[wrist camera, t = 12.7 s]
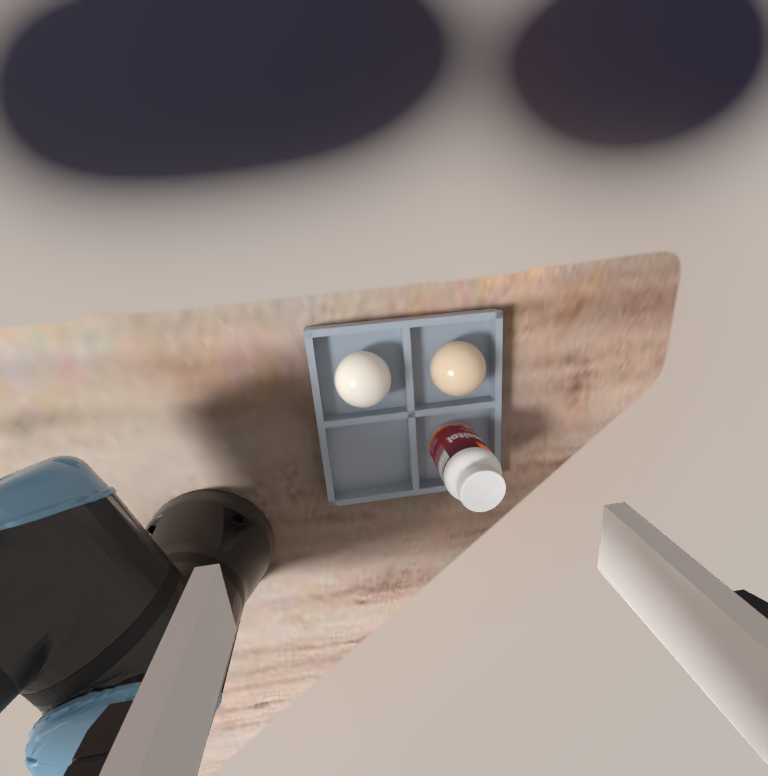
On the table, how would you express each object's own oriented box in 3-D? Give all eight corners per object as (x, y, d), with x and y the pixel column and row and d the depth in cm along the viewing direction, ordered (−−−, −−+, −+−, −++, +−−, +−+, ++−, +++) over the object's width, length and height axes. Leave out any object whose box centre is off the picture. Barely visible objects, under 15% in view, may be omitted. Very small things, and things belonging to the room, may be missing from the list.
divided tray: (329, 495, 49) (329, 507, 47) (305, 326, 42) (303, 330, 40) (492, 472, 51) (500, 483, 49) (493, 308, 44) (503, 310, 42)
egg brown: (425, 389, 46) (438, 407, 40) (423, 339, 44) (436, 350, 38) (475, 383, 46) (494, 400, 40) (474, 333, 44) (495, 343, 39)
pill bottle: (481, 423, 48) (522, 467, 37) (469, 467, 49) (505, 521, 39) (433, 416, 47) (461, 460, 36) (422, 462, 48) (446, 516, 38)
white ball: (337, 400, 45) (338, 419, 39) (331, 348, 43) (330, 361, 37) (389, 393, 45) (397, 412, 40) (385, 343, 43) (392, 355, 38)
